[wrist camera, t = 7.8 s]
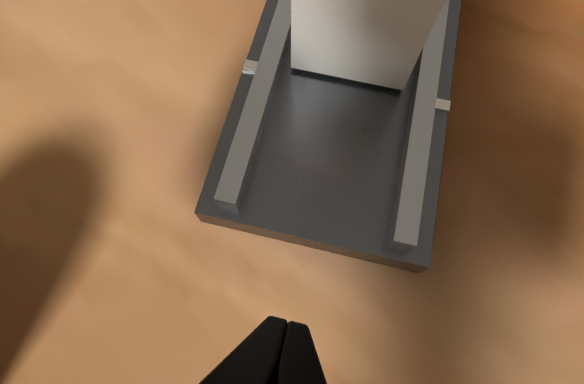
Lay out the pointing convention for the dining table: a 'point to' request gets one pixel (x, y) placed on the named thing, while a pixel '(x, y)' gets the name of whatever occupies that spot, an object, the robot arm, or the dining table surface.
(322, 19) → the red-capped white pillar
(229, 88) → the dining table surface
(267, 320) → the robot arm
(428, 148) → the press rail
